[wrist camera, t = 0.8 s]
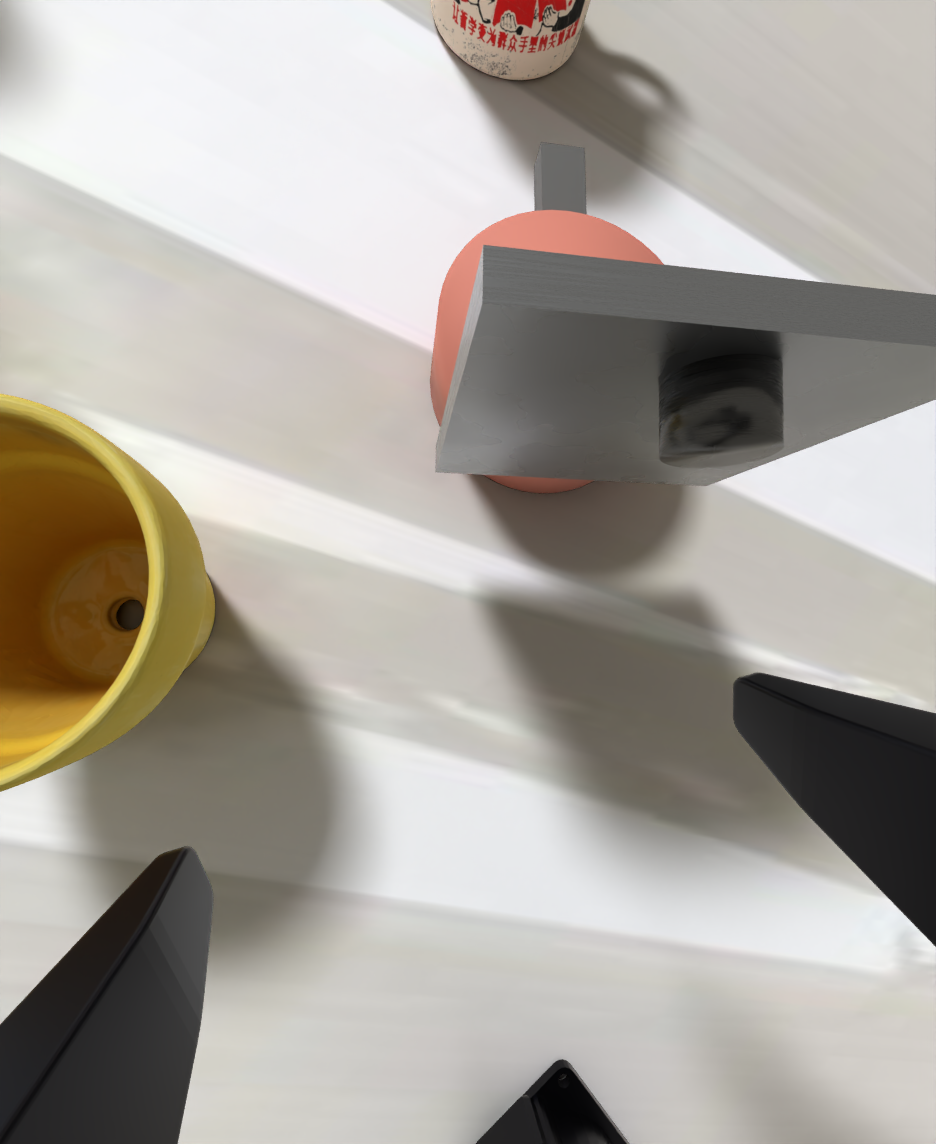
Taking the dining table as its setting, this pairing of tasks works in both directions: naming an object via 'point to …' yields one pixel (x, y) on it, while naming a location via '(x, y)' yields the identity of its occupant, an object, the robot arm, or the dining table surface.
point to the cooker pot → (545, 229)
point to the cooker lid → (670, 368)
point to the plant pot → (86, 591)
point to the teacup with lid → (511, 34)
